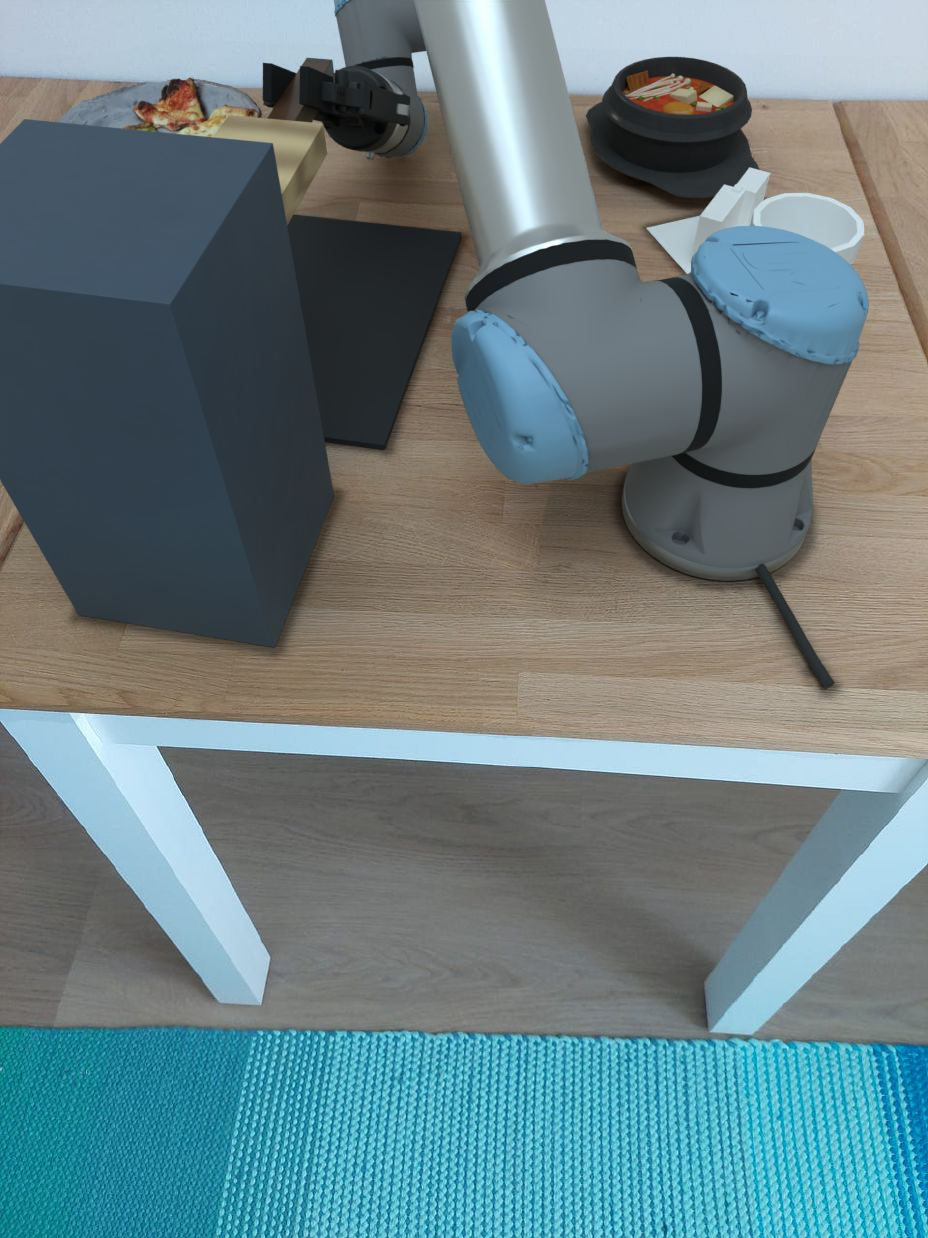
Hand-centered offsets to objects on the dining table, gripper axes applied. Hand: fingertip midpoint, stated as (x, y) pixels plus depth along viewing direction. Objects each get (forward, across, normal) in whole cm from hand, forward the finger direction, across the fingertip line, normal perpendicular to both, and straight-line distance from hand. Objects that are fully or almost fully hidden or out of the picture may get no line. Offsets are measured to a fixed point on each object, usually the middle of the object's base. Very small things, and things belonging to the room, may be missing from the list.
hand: (285, 83), depth 75 cm
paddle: (+1, 0, -5) cm, 5 cm away
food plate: (-38, +29, -5) cm, 48 cm away
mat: (-11, -1, -20) cm, 23 cm away
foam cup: (-15, -44, -18) cm, 50 cm away
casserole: (-44, -32, -1) cm, 54 cm away
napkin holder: (-30, -40, -9) cm, 51 cm away
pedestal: (+16, 0, -35) cm, 38 cm away
